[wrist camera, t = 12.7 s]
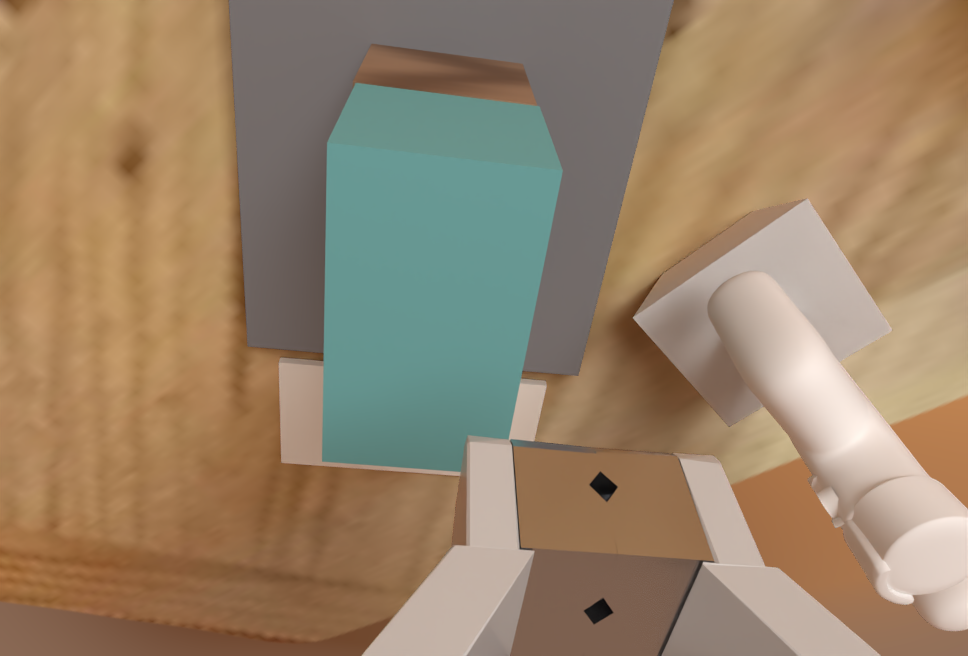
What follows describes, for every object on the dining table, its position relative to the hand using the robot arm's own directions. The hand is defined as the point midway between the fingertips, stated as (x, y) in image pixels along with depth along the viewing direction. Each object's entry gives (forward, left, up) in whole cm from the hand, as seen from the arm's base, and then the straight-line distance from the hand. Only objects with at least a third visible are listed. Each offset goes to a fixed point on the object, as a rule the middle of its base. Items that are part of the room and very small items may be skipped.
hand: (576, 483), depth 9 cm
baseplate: (+2, +3, -20) cm, 20 cm away
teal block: (+2, +4, -13) cm, 14 cm away
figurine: (-11, +7, -20) cm, 24 cm away
